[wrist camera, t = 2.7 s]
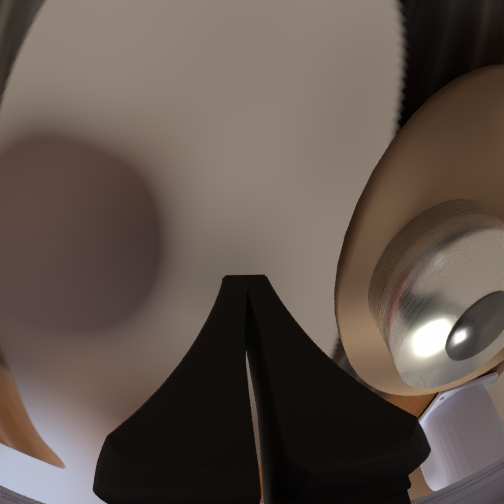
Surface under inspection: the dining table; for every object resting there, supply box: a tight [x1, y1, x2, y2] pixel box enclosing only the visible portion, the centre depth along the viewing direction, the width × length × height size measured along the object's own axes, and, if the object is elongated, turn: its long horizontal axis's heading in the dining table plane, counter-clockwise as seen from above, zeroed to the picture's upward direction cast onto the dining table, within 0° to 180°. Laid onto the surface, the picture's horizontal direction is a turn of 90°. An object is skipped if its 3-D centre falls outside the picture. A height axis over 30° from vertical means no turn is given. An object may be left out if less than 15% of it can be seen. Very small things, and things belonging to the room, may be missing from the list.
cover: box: [368, 199, 504, 388], centre depth 10 cm, size 7×7×3 cm
